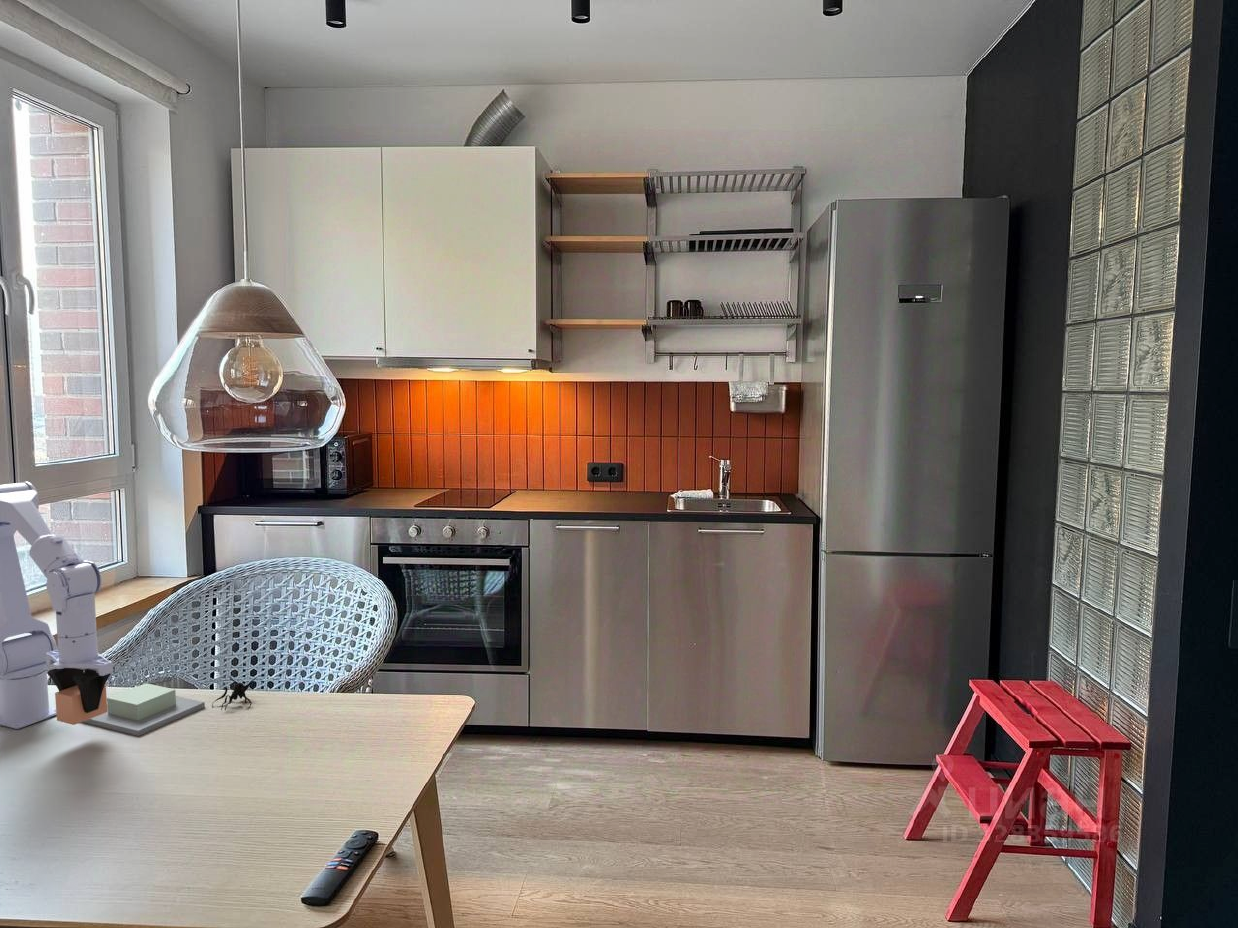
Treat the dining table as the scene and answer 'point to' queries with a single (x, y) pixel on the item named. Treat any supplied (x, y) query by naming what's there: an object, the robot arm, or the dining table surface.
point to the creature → (236, 693)
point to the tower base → (149, 720)
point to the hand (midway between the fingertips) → (81, 708)
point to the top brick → (76, 706)
